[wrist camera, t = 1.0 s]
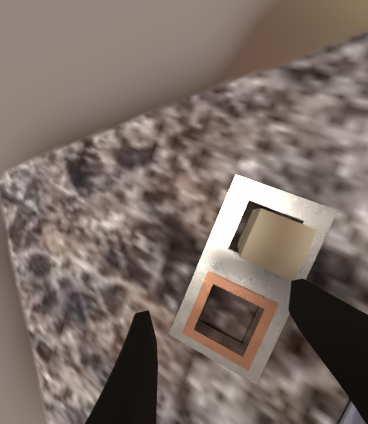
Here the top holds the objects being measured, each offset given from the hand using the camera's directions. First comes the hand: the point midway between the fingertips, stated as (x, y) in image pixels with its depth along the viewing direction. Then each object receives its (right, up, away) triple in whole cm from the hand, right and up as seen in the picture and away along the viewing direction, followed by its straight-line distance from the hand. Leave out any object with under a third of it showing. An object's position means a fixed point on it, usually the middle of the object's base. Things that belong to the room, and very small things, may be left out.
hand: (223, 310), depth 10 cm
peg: (+7, +3, +12) cm, 14 cm away
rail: (+5, -2, +13) cm, 14 cm away
